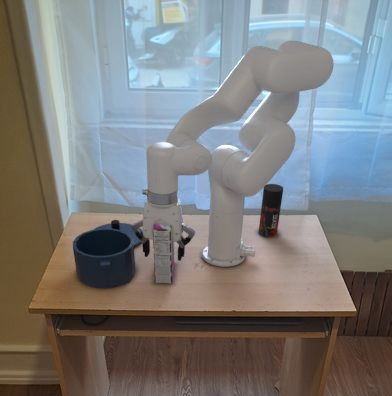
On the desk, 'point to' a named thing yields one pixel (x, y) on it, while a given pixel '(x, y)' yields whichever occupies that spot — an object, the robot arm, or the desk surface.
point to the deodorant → (270, 210)
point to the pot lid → (123, 229)
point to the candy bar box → (163, 253)
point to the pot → (104, 257)
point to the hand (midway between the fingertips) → (163, 256)
